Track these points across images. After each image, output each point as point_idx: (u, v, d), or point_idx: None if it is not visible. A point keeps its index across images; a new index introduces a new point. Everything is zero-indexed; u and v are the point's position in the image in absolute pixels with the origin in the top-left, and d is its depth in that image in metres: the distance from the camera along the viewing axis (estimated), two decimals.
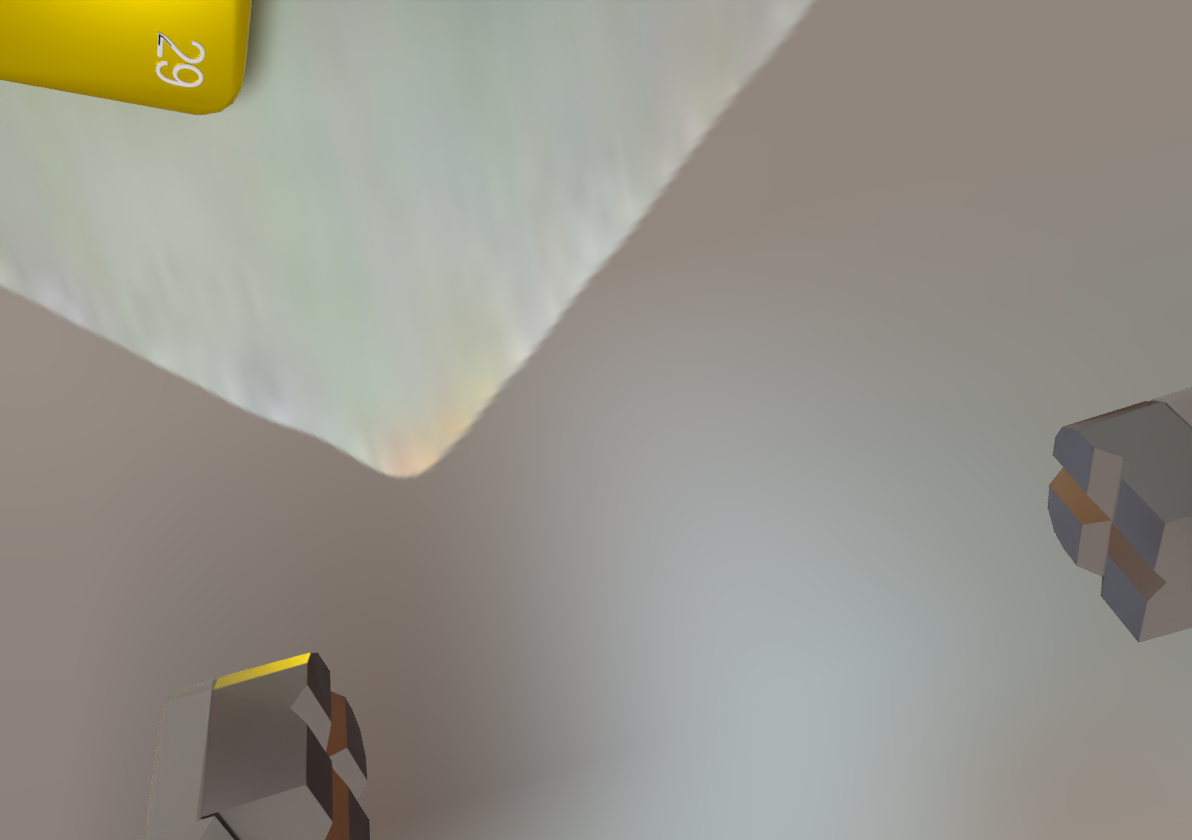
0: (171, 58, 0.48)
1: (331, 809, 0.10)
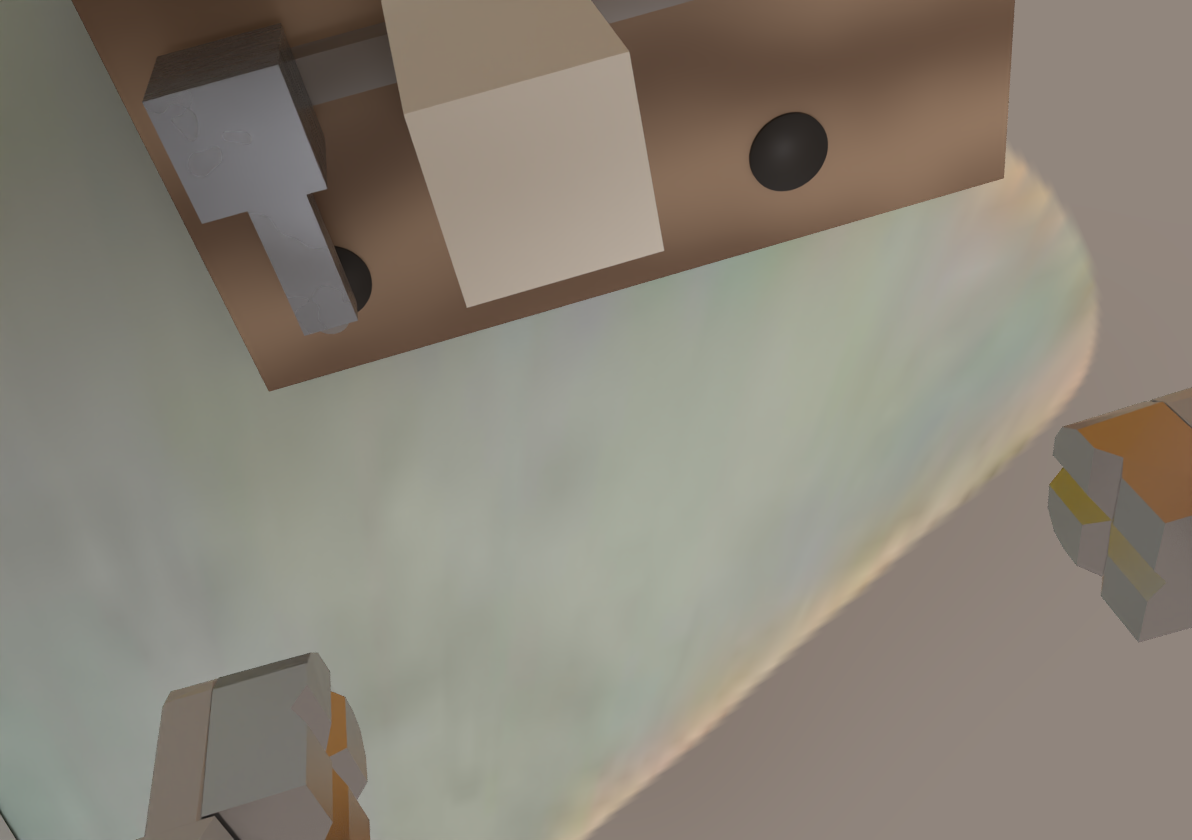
0: None
1: (331, 809, 0.10)
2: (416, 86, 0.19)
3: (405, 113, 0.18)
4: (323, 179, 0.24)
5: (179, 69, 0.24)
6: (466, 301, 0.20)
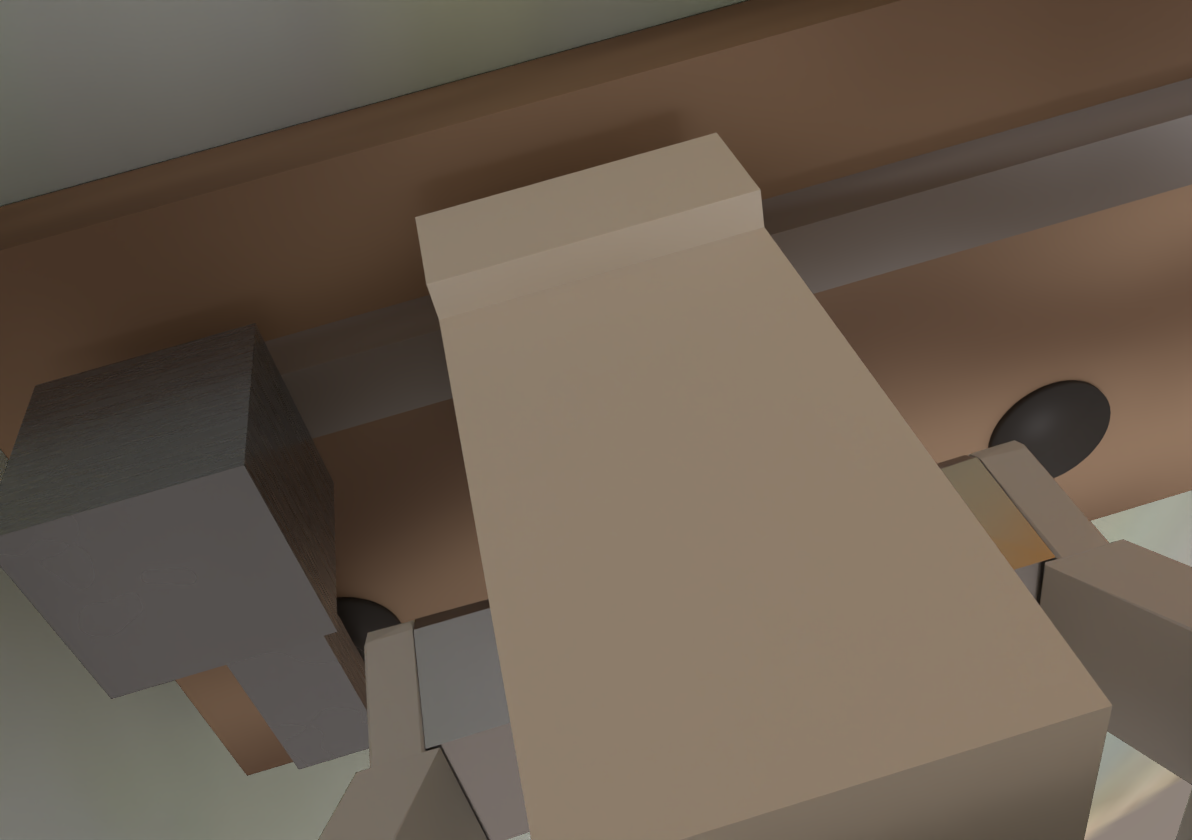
0: None
1: None
2: (556, 731, 0.08)
3: None
4: (330, 618, 0.13)
5: (65, 438, 0.13)
6: None
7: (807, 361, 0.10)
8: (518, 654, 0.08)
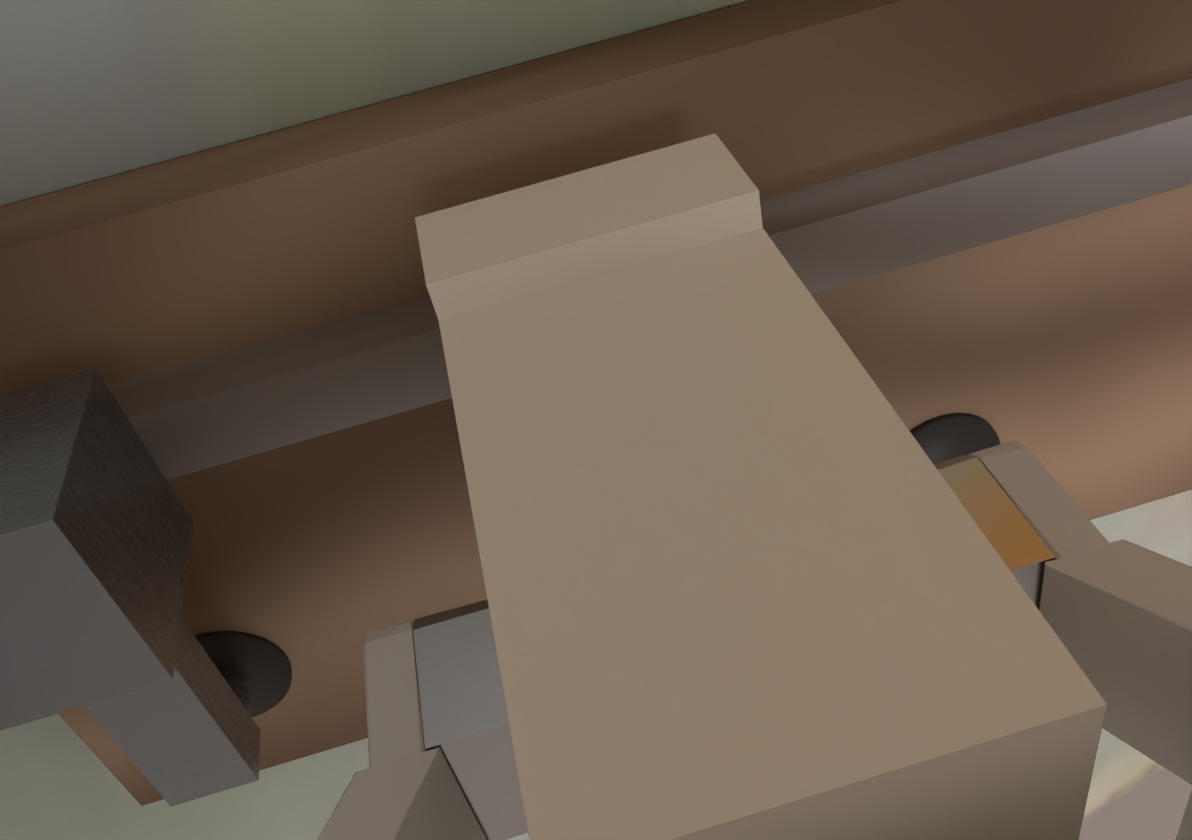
0: None
1: None
2: (555, 729, 0.08)
3: None
4: (164, 666, 0.13)
5: None
6: None
7: (805, 361, 0.10)
8: (517, 652, 0.08)
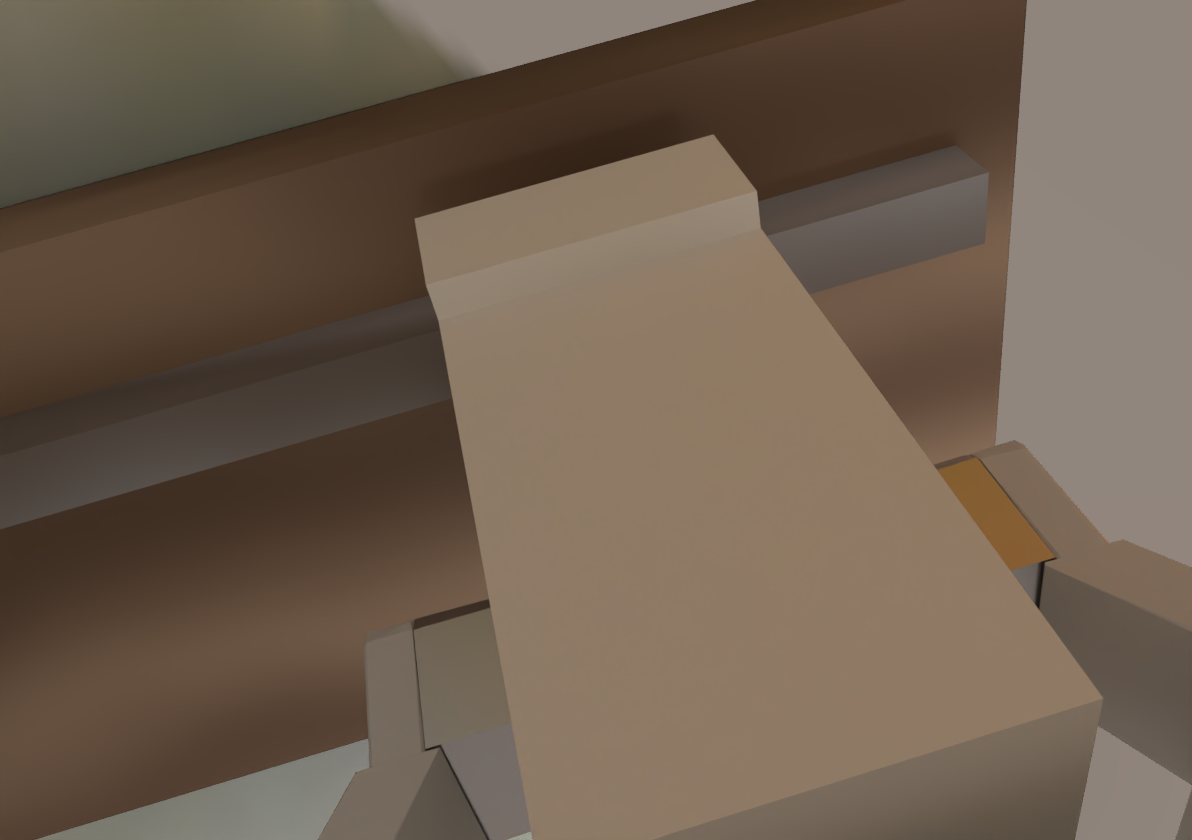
0: None
1: None
2: (557, 724, 0.08)
3: None
4: None
5: None
6: None
7: (803, 360, 0.10)
8: (518, 649, 0.08)
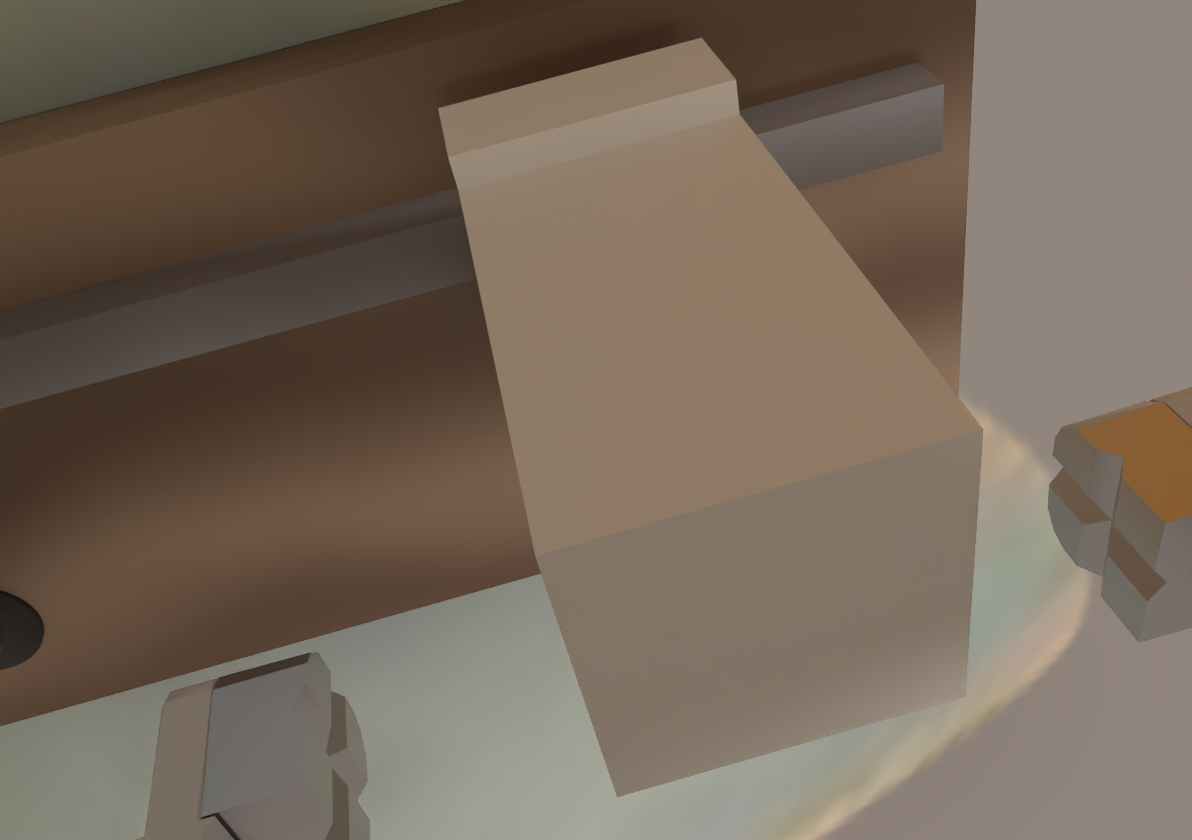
0: None
1: (331, 809, 0.10)
2: (551, 461, 0.10)
3: (539, 553, 0.09)
4: None
5: None
6: (617, 788, 0.11)
7: (768, 210, 0.12)
8: (522, 415, 0.10)
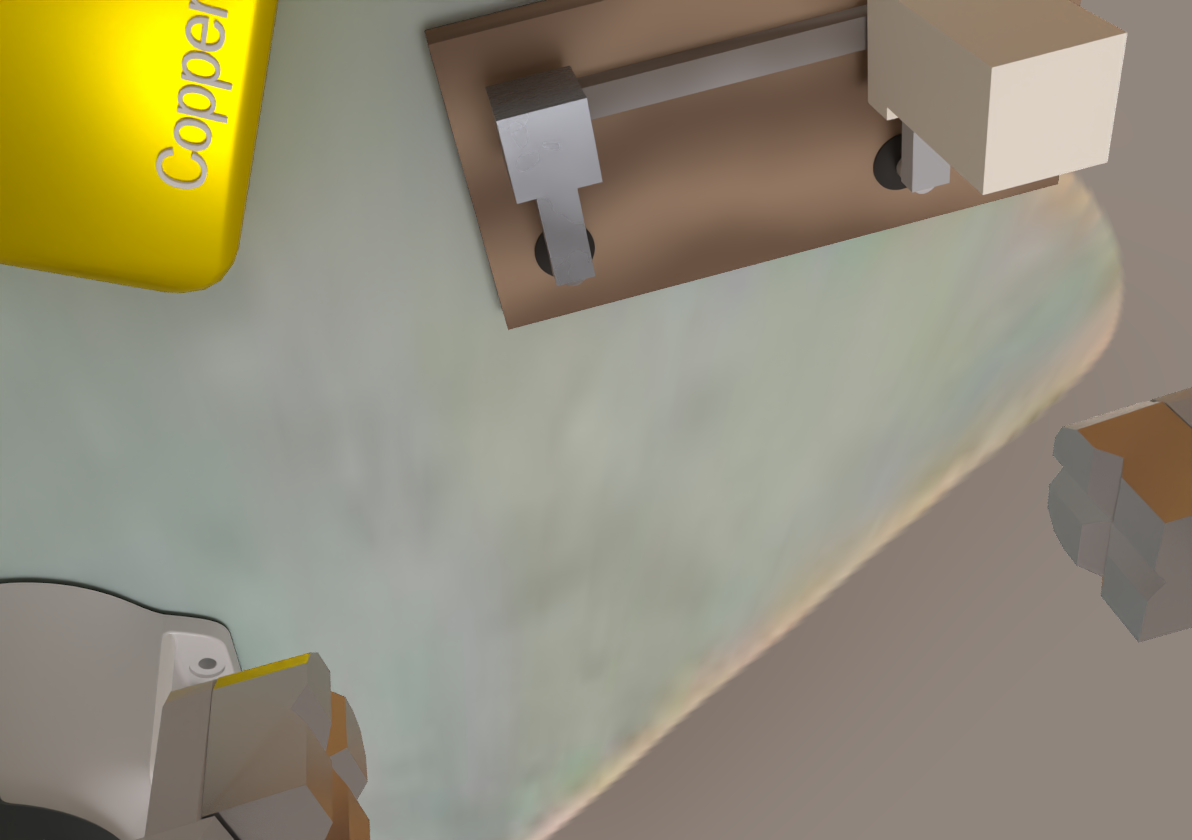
0: None
1: (331, 809, 0.10)
2: (984, 51, 0.30)
3: (992, 67, 0.29)
4: None
5: (510, 97, 0.35)
6: (983, 190, 0.32)
7: None
8: (965, 43, 0.31)
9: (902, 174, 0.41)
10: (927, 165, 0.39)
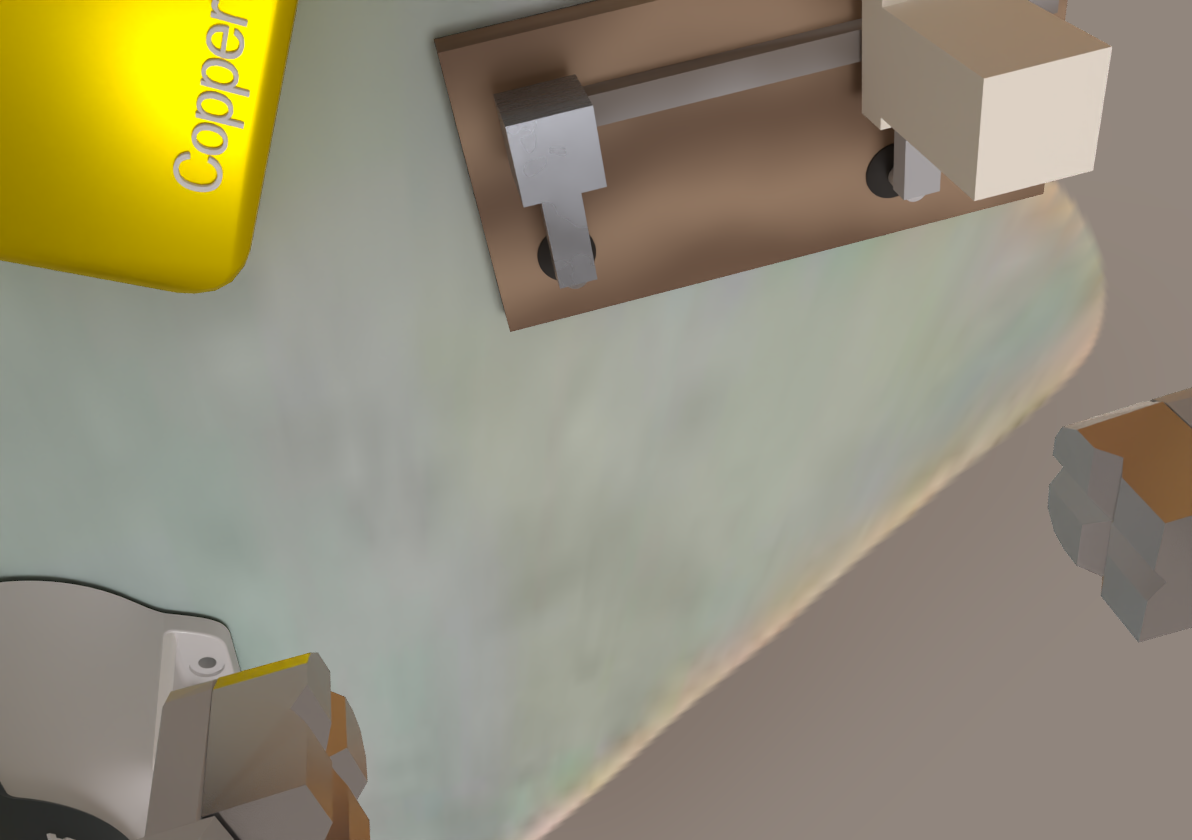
0: None
1: (331, 809, 0.10)
2: (976, 63, 0.31)
3: (984, 78, 0.30)
4: (605, 180, 0.36)
5: (517, 104, 0.36)
6: (975, 196, 0.33)
7: (1019, 6, 0.34)
8: (958, 55, 0.32)
9: (894, 182, 0.42)
10: (918, 174, 0.41)
